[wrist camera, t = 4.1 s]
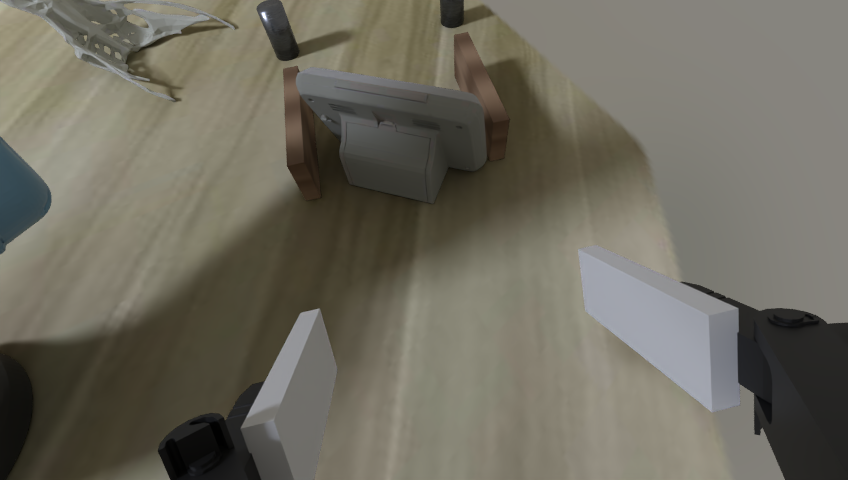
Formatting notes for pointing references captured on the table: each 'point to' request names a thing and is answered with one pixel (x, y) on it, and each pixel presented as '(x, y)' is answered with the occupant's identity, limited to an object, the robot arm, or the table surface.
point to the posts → (285, 40)
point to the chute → (469, 80)
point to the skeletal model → (109, 28)
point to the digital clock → (397, 130)
